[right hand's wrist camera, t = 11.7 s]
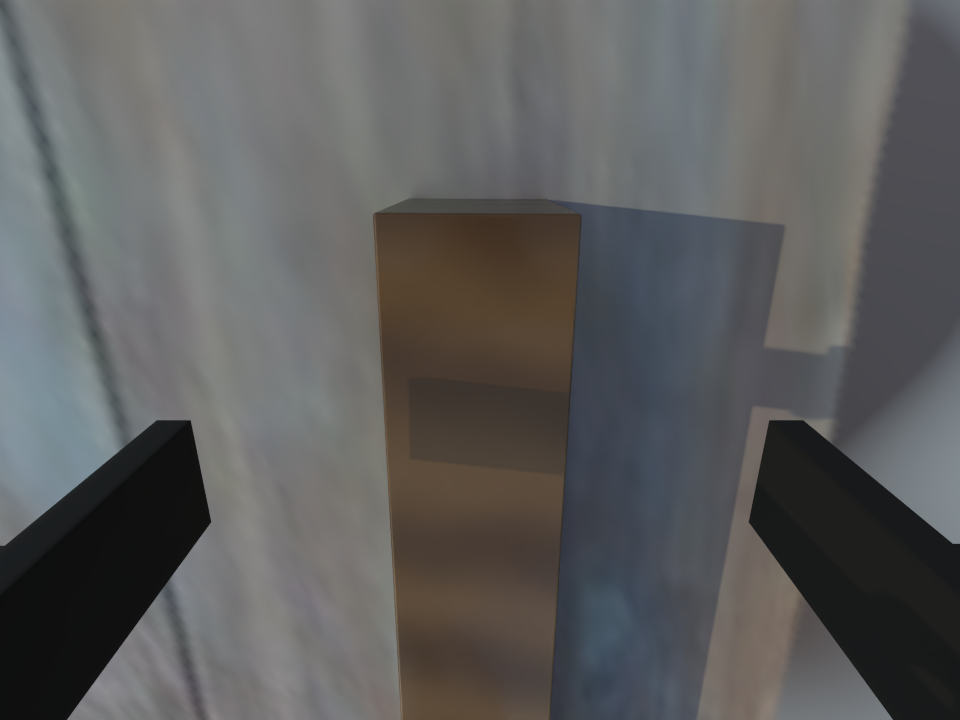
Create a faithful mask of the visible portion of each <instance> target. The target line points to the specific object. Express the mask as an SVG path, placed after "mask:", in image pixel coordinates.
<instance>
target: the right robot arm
mask: <svg viewBox="0 0 960 720" xmlns="http://www.w3.org/2000/svg"><path fill="white" fill-rule="evenodd" d="M210 523H211V519H210V514H209V509H208V504H207V499H206V494H205V489H204V484H203V479H202V474H201V469H200V464H199V460H198V455H197V450H196V445H195V440H194V435H193V430H192V425H191V420H157V421H156V422H154V423H153V424H152V425H151V426H149V427H148V428H147V429H146V430H145V431H143V432H142V433H141V434H140V435H139V436H137V437H136V438H135V439H134V440H133V441H131V442H130V443H129V444H128V445H126V446H125V447H124V448H123V449H122V450H120V451H119V452H118V453H117V454H116V455H114V456H113V457H112V458H111V459H109V460H108V461H107V462H106V463H105V464H103V465H102V466H101V467H100V468H99V469H97V470H96V471H95V472H94V473H93V474H91V475H90V476H89V477H88V478H86V479H85V480H84V481H83V482H82V483H80V484H79V485H78V486H77V487H76V488H74V489H73V490H72V491H71V492H70V493H68V494H67V495H66V496H65V497H63V498H62V499H61V500H60V501H59V502H57V503H56V504H55V505H54V506H53V507H51V508H50V509H49V510H48V511H46V512H45V513H44V514H43V515H42V516H40V517H39V518H38V519H37V520H36V521H34V522H33V523H32V524H31V525H30V526H28V527H27V528H26V529H25V530H23V531H22V532H21V533H20V534H19V535H17V536H16V537H15V538H14V539H13V540H11V541H10V542H9V543H8V544H6V545H5V546H0V720H67V719H68V717H69V716H70V715H71V713H72V712H73V711H74V709H75V708H76V706H77V705H78V704H79V702H80V701H81V700H82V698H83V697H84V695H85V694H86V693H87V691H88V690H89V689H90V687H91V686H92V685H93V683H94V682H95V680H96V679H97V678H98V676H99V675H100V674H101V672H102V671H103V669H104V668H105V667H106V665H107V664H108V663H109V661H110V660H111V659H112V657H113V656H114V654H115V653H116V652H117V650H118V649H119V648H120V646H121V645H122V643H123V642H124V641H125V639H126V638H127V637H128V635H129V634H130V632H131V631H132V630H133V628H134V627H135V626H136V624H137V623H138V622H139V620H140V619H141V617H142V616H143V615H144V613H145V612H146V611H147V609H148V608H149V606H150V605H151V604H152V602H153V601H154V600H155V598H156V597H157V596H158V594H159V593H160V591H161V590H162V589H163V587H164V586H165V585H166V583H167V582H168V580H169V579H170V578H171V576H172V575H173V574H174V572H175V571H176V569H177V568H178V567H179V565H180V564H181V563H182V561H183V560H184V559H185V557H186V556H187V554H188V553H189V552H190V550H191V549H192V548H193V546H194V545H195V543H196V542H197V541H198V539H199V538H200V537H201V535H202V534H203V533H204V531H205V530H206V528H207V527H208V526H209V524H210ZM749 523H750V524H751V526H752V527H753V528H754V530H755V531H756V533H757V534H758V535H759V537H760V538H761V539H762V541H763V542H764V543H765V545H766V546H767V548H768V549H769V550H770V552H771V553H772V554H773V556H774V557H775V559H776V560H777V561H778V563H779V564H780V565H781V567H782V568H783V569H784V571H785V572H786V574H787V575H788V576H789V578H790V579H791V580H792V582H793V583H794V585H795V586H796V587H797V589H798V590H799V591H800V593H801V594H802V596H803V597H804V598H805V600H806V601H807V602H808V604H809V605H810V606H811V608H812V609H813V611H814V612H815V613H816V615H817V616H818V617H819V619H820V620H821V622H822V623H823V624H824V626H825V627H826V628H827V630H828V631H829V632H830V634H831V635H832V637H833V638H834V639H835V641H836V642H837V643H838V645H839V646H840V648H841V649H842V650H843V652H844V653H845V654H846V656H847V657H848V658H849V660H850V661H851V662H852V664H853V665H854V667H855V668H856V669H857V671H858V672H859V674H860V675H861V676H862V678H863V679H864V680H865V682H866V683H867V685H868V686H869V687H870V689H871V690H872V691H873V693H874V694H875V695H876V697H877V698H878V700H879V701H880V702H881V704H882V705H883V706H884V708H885V709H886V710H887V712H888V713H889V715H890V716H891V717H892V719H893V720H960V544H952V543H951V542H950V541H949V540H947V539H946V538H945V537H944V536H943V535H941V534H940V533H939V532H938V531H937V530H935V529H934V528H933V527H932V526H930V525H929V524H928V523H927V522H926V521H924V520H923V519H922V518H921V517H920V516H918V515H917V514H916V513H915V512H913V511H912V510H911V509H910V508H909V507H907V506H906V505H905V504H904V503H903V502H901V501H900V500H899V499H898V498H897V497H895V496H894V495H893V494H892V493H890V492H889V491H888V490H887V489H886V488H884V487H883V486H882V485H881V484H880V483H878V482H877V481H876V480H875V479H874V478H872V477H871V476H870V475H869V474H867V473H866V472H865V471H864V470H863V469H861V468H860V467H859V466H858V465H857V464H855V463H854V462H853V461H852V460H850V459H849V458H848V457H847V456H846V455H844V454H843V453H842V452H841V451H840V450H838V449H837V448H836V447H835V446H834V445H832V444H831V443H830V442H829V441H827V440H826V439H825V438H824V437H823V436H821V435H820V434H819V433H818V432H817V431H815V430H814V429H813V428H812V427H811V426H809V425H808V424H807V423H806V422H804V421H803V420H769V425H768V430H767V435H766V440H765V445H764V450H763V455H762V460H761V464H760V469H759V474H758V479H757V484H756V489H755V494H754V499H753V504H752V509H751V514H750V519H749Z"/></svg>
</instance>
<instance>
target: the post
mask: <svg viewBox="0 0 960 720" xmlns="http://www.w3.org/2000/svg"><path fill="white" fill-rule="evenodd" d="M581 219H582V217H581V214H578V213H576V212H574V211H572V210H569V209H567V208H565V207H562V206H560V205H558V204H556V203H553V202H551V201H549V200H547V199H407V200H405V201H402V202H400V203H398V204H395V205H393V206H391V207H388V208H386V209H384V210H381V211H379V212H376V213H374V215H373V223H374V241H375V259H376V276H377V294H378V312H379V330H380V348H381V366H382V384H383V402H384V420H385V438H386V456H387V474H388V492H389V510H390V528H391V546H392V564H393V581H394V599H395V617H396V635H397V653H398V671H399V689H400V707H401V720H550V712H551V696H552V680H553V664H554V648H555V632H556V616H557V601H558V585H559V569H560V553H561V537H562V521H563V505H564V489H565V473H566V458H567V442H568V426H569V410H570V394H571V378H572V362H573V346H574V331H575V315H576V299H577V283H578V267H579V251H580V235H581Z"/></svg>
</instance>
